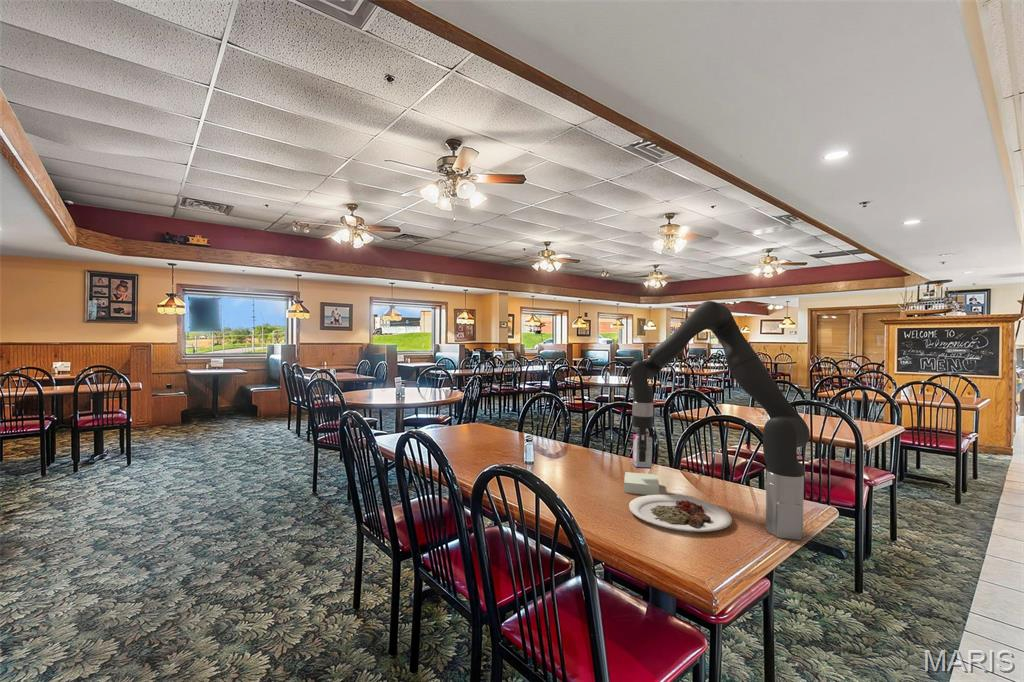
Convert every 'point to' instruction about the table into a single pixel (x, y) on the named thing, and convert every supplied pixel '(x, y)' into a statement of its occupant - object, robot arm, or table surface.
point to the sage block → (641, 483)
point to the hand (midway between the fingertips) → (642, 459)
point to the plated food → (680, 513)
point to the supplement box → (636, 462)
